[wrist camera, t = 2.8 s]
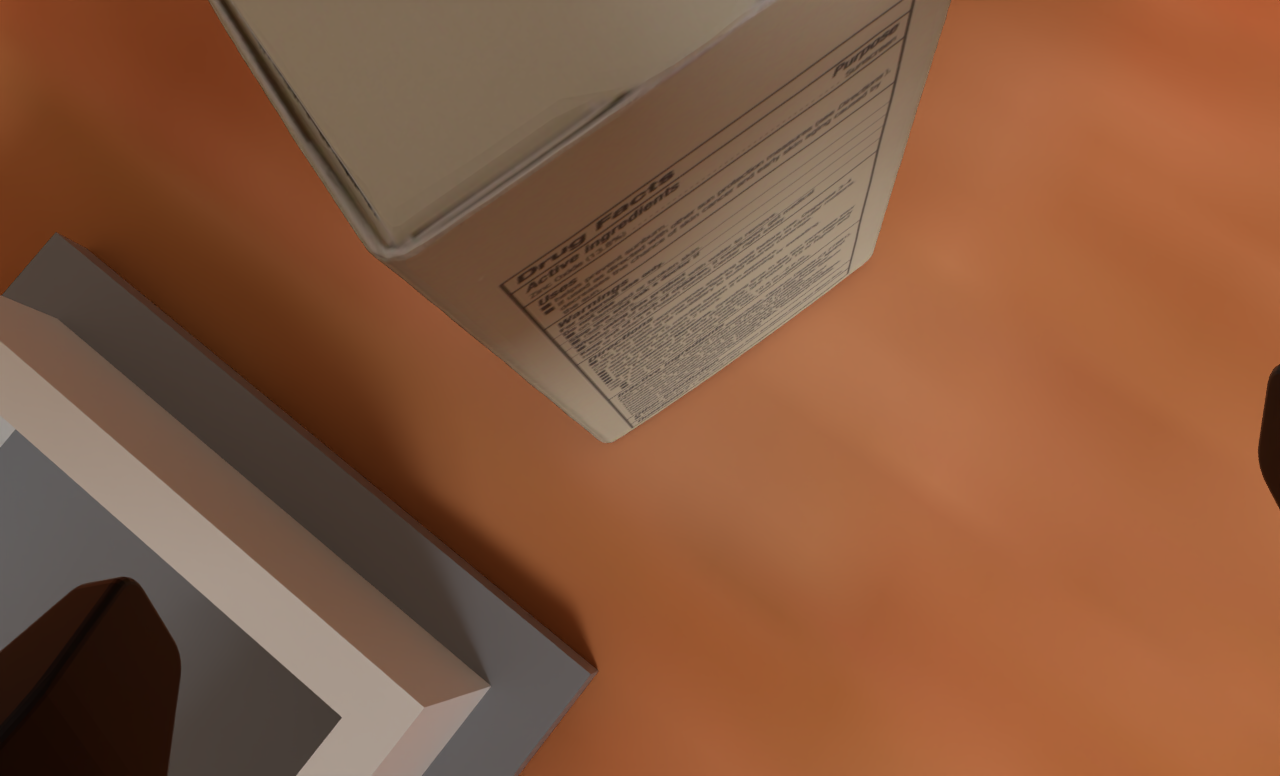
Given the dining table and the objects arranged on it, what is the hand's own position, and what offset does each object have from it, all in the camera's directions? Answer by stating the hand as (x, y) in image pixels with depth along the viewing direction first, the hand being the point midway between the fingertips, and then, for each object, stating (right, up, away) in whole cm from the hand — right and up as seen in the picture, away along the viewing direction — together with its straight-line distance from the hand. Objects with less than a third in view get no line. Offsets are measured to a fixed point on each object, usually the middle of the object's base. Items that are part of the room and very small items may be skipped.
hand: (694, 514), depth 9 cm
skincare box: (0, +3, +12) cm, 13 cm away
